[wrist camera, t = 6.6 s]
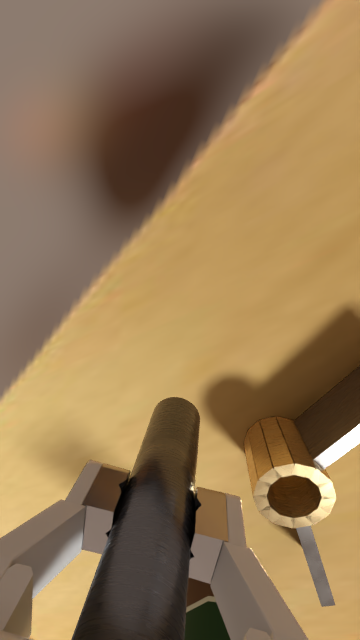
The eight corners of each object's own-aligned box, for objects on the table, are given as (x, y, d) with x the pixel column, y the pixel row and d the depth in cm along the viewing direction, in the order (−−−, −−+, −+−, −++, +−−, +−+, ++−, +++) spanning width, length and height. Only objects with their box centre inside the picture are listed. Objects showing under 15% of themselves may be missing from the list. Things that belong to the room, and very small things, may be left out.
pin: (173, 388, 13) (97, 659, 4) (209, 418, 13) (205, 733, 5) (143, 418, 14) (28, 705, 5) (179, 446, 14) (125, 768, 5)
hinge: (366, 325, 23) (419, 350, 17) (484, 434, 24) (572, 491, 18) (203, 468, 28) (202, 524, 22) (307, 551, 29) (331, 624, 23)
